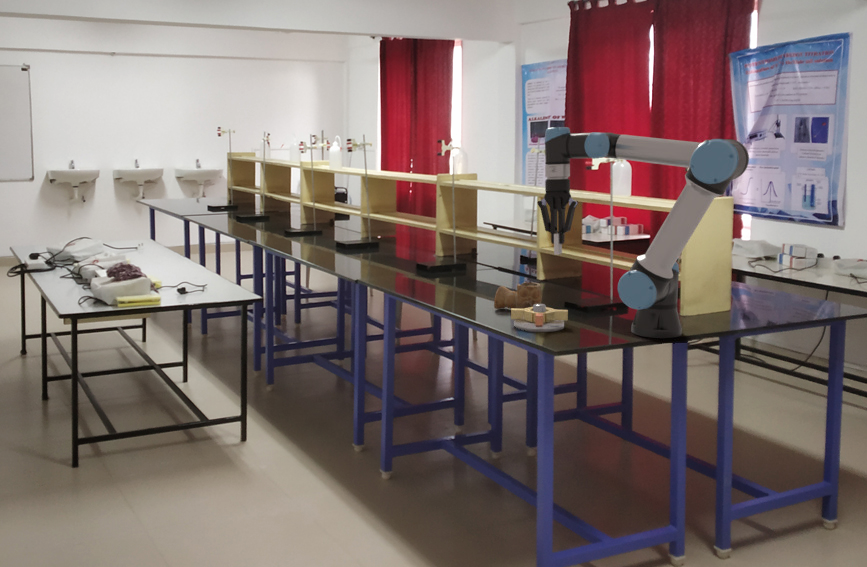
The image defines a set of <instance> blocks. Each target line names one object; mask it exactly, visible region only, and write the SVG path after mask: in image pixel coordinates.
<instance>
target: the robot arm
mask: <svg viewBox="0 0 867 567" xmlns="http://www.w3.org/2000/svg"><path fill="white" fill-rule="evenodd" d="M544 137H545V138H544V152H545V156H544V157H545V159H544V160H545V167H544V171H545V176H544V177H545V178H546V179H545V181H544V185H545V186H544V187H545V188H544V189H545V194H544V196H543V198H542V199H540V200H538V201H537V205H538V206H539V208H540V213H541V217H542V221H543V225H544V230H545V232H549V233H550V241H551V242H550V243H551V244H553V255H554V256H556V255H557V256H559V255H562V254H563V245H564V244H565V234H566V233H568V232H570V231H571V229H572V224H573V219H574V216H575V215H574V214H575V210H576V208H577V206H578V205H579V201H578V200H575V199H573V197H572V195H571V193H570V192H571V191H570V190H571V179H570V177H571V159H592V160H593V159H594V160H595V159H602V158H606V159H615V160H617V159H618V160H625V161H626V160H627V161H634V162H641V163H647V164H648V163H649V164H655V165H657V164H658V165H663V166H670V167H671V166H673V167H679V168H680V167H681V168H688V169H687V171H686V173H685V175H684V177H685V181H686V182H685V183H686V184H685V185H684V188H683V189H682V191H681V192H680V194H679V196H678V197H677V198H676V201H675V203H674V204H673V206H672V207H671V210H670V211H669V213H668V214H667V216H666V218H665V220H664V222H663V223H662V225H661V226H660V228H659V229H658V231H657V233H656V235H655V237H654V238H653V240H652V242H651V243H650V245H649V247H648V248H647V250H646V252H645V253H644V254H640V255H637V257H636V258H635V261H634V262H633V264H632V265H631V268H630V269H629V271H626V272H625V273H624V274H623V275H621V277H620V278H619V281H618V283H617V293H618V297H619V299H620V300H621V301H622V303H623V304H625V305H626V306H627V307H629V308H630V309H633V310H636V313H635V315H634V318H633V320H632V323H631V328H630V329H631V330H630V331H631V333H632V334H634V335H636V336H640V337H645V338H652V339H672V338H678V337H680V336H682V330H683V328H682V327H683V326H682V324H681V321H680V320H681V319H680V317H679V313H678V307H677V306H678V294H679V277H680V276H679V275H680V265H679V263H678V262H677V261H678V259H679V257H680V255H681V254H682V253H683V251H684V249H685V248H686V246H687V243H688V242H689V240H690V239H691V237H692V236H693V234H694V232H695V231H696V229H697V227H698V226H699V225H700V222H701V221H702V219H703V218H704V216H705V214H706V213H707V211H708V209H709V208H710V206H711V204H712V203H713V201H714V199H716V198H718V197H722V196H724V193H725V192H726V190H727V189H728V188H729V185H730V184H731V182H732V181H733V180H736V179H739V177H741V176H742V175H743V174H744V173H745V172H746V170H747V168H748V167H749V161H750V155H749V152H748V150H747V148H746V147H745V145H744V144H743V143H742V142H740V141H738V140H735V139H730V138H728V139H727V138H726V139H723V138H712V139H705V140H704V141H703V142H697V141H687V140H677V139H668V138H667V139H666V138H658V137H649V136H639V135H630V134H620V133H614V132H606V131H605V132H599V131H598V132H597V131H596V132H595V131H594V132H581V133H580V132H579V133H572V132H571V129H570V127H567V126H565V127H564V126H562V127H561V126H560V127H559V126H558V127H548V128H546V129H545V136H544ZM547 205H548V206H549V209H548V206H547ZM567 205H568V206H569V207H568V209H567V214H566V207H567ZM549 211H550V213H549Z"/></svg>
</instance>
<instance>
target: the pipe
mask: <svg viewBox="0 0 867 567" xmlns="http://www.w3.org/2000/svg"><path fill="white" fill-rule="evenodd" d="M542 294H543V292H542V286H541V284H540V283H539V282H528V281H524V282H522V283H521V284H520V283H518V284H517V285H516V291H515V290H510V289H509V288H507V287H506V286H504V285H501V286H499V287H498V288H497V290H496V292H495V296H494V302H493V307H494V309H496V310H500V309H505V308H508V309H510V310H511V308H513V309H524V308H528V307H533V305H534V304H542V298H543V295H542Z"/></svg>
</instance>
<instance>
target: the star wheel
mask: <svg viewBox="0 0 867 567" xmlns="http://www.w3.org/2000/svg"><path fill="white" fill-rule="evenodd" d="M568 316H569V310H568V309H555V308H552V307H549V306H546V311H545V312H535V311H533V307H528V308H524V309H513V308H511V309H510V320H514V319H524V320H526V321H530V322H535V325H543V323H545V322H551V321H555V320H564V322H565V321H568V318H569V317H568Z"/></svg>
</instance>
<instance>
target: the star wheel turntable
mask: <svg viewBox="0 0 867 567" xmlns="http://www.w3.org/2000/svg"><path fill="white" fill-rule="evenodd" d="M546 307H547V306H546V304H545V303H541V304H534V305H533V311H535V312H545V311H546ZM513 320H514V321H513V327H514V326H515V327H516V328H515V327H514V328H515V329H517V328H518V329H517V330H520V329H521V330H520V331H524V330H525V331H526V332H534V333H549V332H550V333H551V332H557V331H561V330H563V329H564V328H565V321H564V320H555V321H551V322H545V323H543V325H535V322H530V321H526V320H524V319H513Z"/></svg>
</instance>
